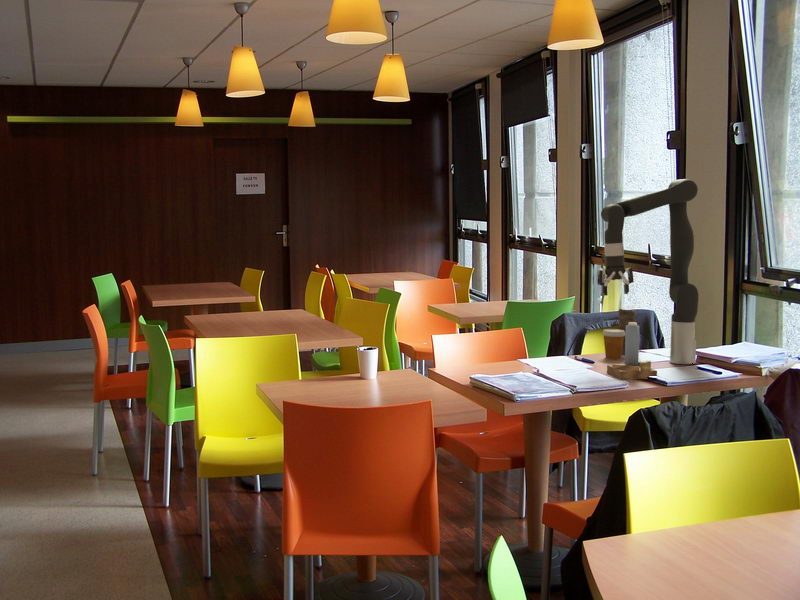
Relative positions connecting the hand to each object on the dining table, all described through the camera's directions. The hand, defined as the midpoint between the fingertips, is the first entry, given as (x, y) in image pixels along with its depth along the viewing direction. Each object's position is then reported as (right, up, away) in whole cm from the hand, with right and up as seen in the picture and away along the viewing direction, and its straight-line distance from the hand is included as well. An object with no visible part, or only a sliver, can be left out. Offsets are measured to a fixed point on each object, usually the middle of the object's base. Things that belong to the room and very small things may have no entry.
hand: (616, 294), depth 336 cm
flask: (+1, -28, -20) cm, 34 cm away
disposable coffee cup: (+4, -27, +20) cm, 34 cm away
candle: (+13, -26, +31) cm, 42 cm away
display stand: (+1, -31, -20) cm, 37 cm away
